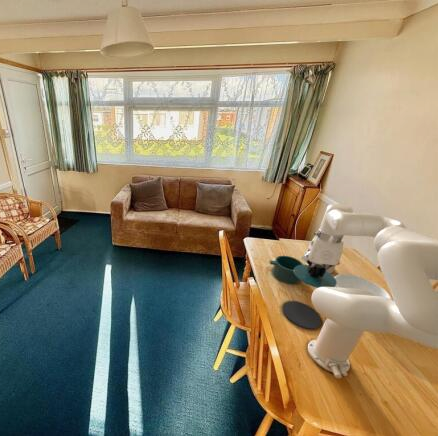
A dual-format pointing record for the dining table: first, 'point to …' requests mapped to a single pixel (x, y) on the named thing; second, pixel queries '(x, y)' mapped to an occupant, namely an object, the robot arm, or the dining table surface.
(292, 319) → the mat
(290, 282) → the pot
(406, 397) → the dining table surface
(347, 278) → the serving bowl
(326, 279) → the lid
